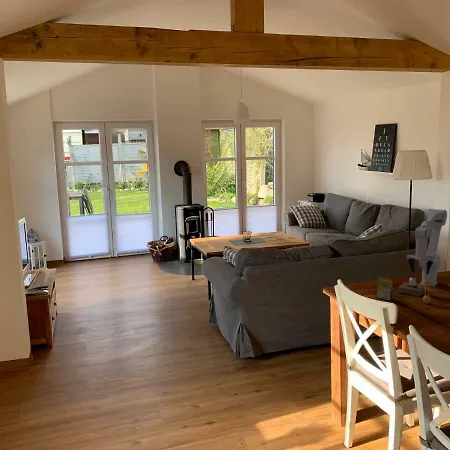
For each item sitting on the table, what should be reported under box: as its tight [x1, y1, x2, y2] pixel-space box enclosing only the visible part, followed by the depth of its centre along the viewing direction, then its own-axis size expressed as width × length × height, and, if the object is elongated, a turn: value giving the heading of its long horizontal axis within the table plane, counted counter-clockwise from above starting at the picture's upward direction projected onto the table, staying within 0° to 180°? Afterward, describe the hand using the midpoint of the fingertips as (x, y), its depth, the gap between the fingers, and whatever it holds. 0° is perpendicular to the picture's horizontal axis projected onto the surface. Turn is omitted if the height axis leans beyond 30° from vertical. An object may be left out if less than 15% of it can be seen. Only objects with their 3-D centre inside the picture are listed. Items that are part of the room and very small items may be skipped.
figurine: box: [418, 280, 437, 304], centre depth 243 cm, size 8×6×12 cm
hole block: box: [397, 281, 426, 297], centre depth 261 cm, size 12×12×3 cm
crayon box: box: [376, 276, 394, 301], centre depth 251 cm, size 7×3×12 cm, turn 48°
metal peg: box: [408, 277, 417, 288], centre depth 261 cm, size 3×3×7 cm
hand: (420, 273), depth 260 cm, fingers open, 7 cm apart
